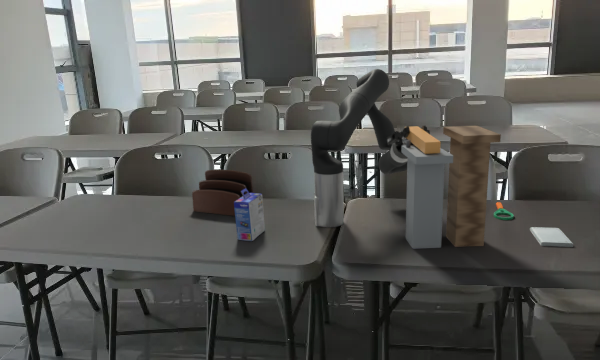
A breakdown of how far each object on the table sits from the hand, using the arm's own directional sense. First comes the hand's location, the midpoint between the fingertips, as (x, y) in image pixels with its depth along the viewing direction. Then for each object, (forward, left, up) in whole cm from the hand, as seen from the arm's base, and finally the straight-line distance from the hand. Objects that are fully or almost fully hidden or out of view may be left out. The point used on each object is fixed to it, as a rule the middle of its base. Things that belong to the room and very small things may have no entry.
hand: (416, 129), depth 142 cm
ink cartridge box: (-50, +2, -32) cm, 59 cm away
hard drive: (+37, -11, -32) cm, 50 cm away
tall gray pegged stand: (0, -10, -31) cm, 33 cm away
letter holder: (-61, +28, -32) cm, 75 cm away
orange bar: (0, -5, -4) cm, 6 cm away
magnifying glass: (+33, +13, -32) cm, 48 cm away
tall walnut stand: (+12, -10, -31) cm, 35 cm away
